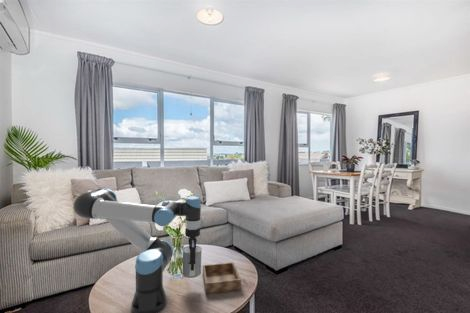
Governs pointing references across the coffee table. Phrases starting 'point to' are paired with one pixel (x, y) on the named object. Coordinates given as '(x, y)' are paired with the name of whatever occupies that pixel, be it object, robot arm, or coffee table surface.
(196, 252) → the speckled white tin can
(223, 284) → the walnut box
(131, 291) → the coffee table surface
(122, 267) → the coffee table surface
